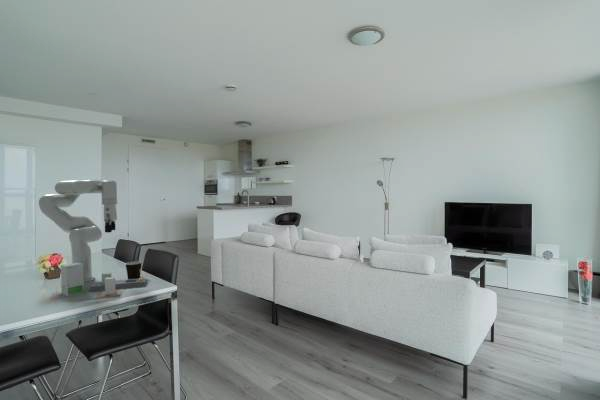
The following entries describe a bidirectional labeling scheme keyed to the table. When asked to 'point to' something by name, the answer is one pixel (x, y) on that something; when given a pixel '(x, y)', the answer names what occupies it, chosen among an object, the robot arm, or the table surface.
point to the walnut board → (102, 294)
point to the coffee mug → (133, 270)
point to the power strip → (120, 284)
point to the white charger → (109, 285)
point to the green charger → (105, 275)
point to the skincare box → (72, 279)
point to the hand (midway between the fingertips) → (110, 231)
